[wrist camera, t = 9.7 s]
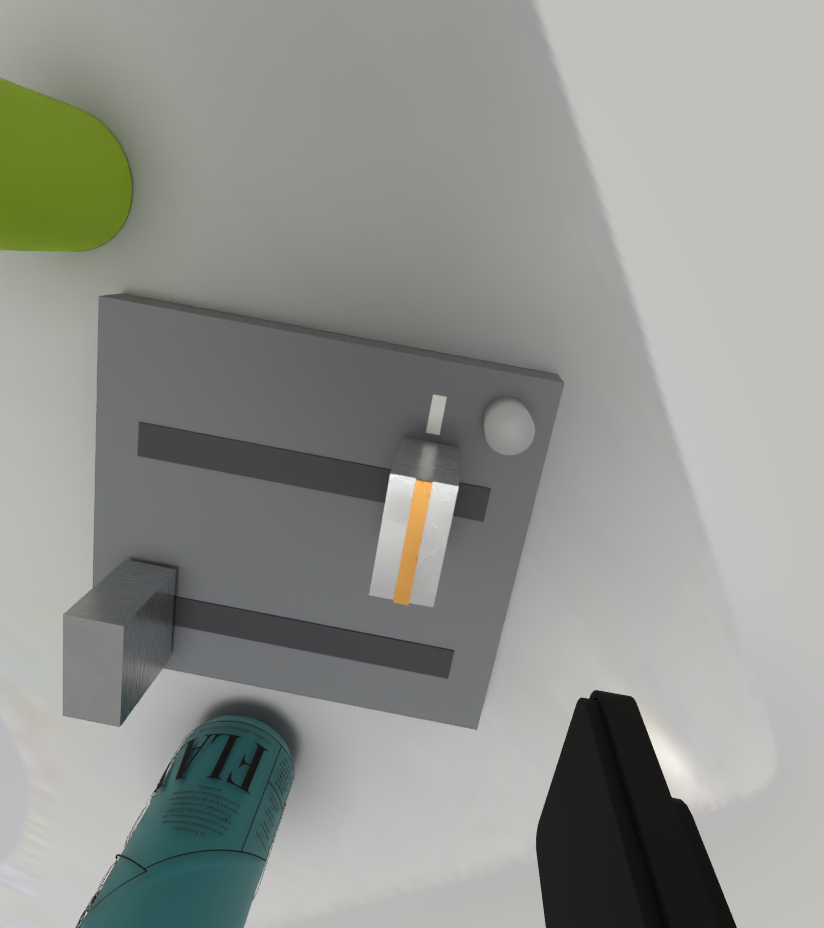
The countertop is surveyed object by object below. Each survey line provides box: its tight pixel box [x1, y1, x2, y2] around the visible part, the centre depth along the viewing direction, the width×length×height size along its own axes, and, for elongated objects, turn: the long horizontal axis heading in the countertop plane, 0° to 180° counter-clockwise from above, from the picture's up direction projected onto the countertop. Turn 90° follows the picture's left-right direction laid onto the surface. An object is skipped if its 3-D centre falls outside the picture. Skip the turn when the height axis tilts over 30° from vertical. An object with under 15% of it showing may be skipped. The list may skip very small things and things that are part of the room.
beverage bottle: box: [76, 715, 295, 928], centre depth 27 cm, size 6×7×20 cm
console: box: [93, 294, 564, 730], centre depth 30 cm, size 18×20×4 cm
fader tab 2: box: [369, 437, 459, 607], centre depth 26 cm, size 5×2×5 cm, turn 170°
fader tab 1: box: [63, 560, 176, 727], centre depth 29 cm, size 5×2×5 cm, turn 170°
